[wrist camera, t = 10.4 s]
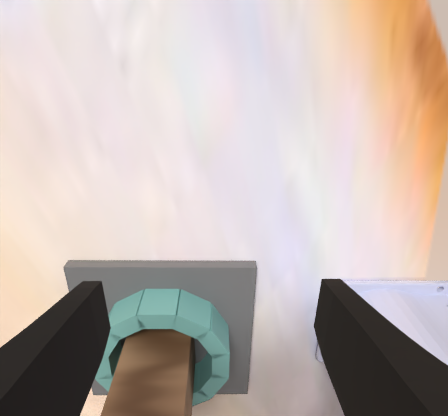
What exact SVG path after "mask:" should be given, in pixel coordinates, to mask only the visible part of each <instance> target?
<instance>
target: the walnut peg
mask: <svg viewBox="0 0 448 416" xmlns="http://www.w3.org/2000/svg"><path fill="white" fill-rule="evenodd" d="M195 359H196V358H195V342H194V338H193V337H191V336H188V335H186V334H183V333H181V332H178V331H176V330H174V329H142V330H140V331H138V332H135V333H133V334H131V335H129V336H127V337H126V340H125V343H124V346H123V349H122V352H121V355H120V358H119V361H118V364H117V367H116V370H115V373H114V376H113V379H112V383H111V386H110V389H109V392H108V395H107V398H106V401H105V404H104V407H103V410H102V413H101V416H191V415H192V401H193V387H194V373H195Z"/></svg>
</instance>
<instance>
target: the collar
mask: <svg viewBox="0 0 448 416" xmlns="http://www.w3.org/2000/svg"><path fill="white" fill-rule="evenodd" d="M63 268H64V272H65V276H66V280H67V285H68V289H69V292H70V291H71V290H72V289H74V288H75V287H76V286H77V285H78V284H80V283H81V282H82V281H102V285H103V290H104V295H105V300H106V306H107V311H108V316H109V321H110V327H111V329H110V333H109V337H108V341H107V345H106V348H105V352H104V356H103V359H102V362H101V364H100V367H99V369H98V372H97V374H96V377H95V379H94V382H93V384H92V391H93V395H108V392H109V389H110V386H111V383H112V379H113V376H114V373H115V370H116V367H117V364H118V361H119V358H120V355H121V352H122V349H123V346H124V343H125V340H126V337H127V336H129V335H131V334H133V333H135V332H138V331H140V330H142V329H174V330H176V331H178V332H181V333H183V334H186V335H188V336H191V337H193V338H194V342H195V358H196V359H195V373H194V387H193V401H192V406H194V405H197V404H199V403H202V402H205V401H207V400H210V398H212V397H213V396H214V395H215V394H247V392H248V378H249V365H250V351H251V338H252V324H253V311H254V297H255V284H256V271H257V267H256V261H86V260H68V262H67V263H66V264H65V266H64V267H63Z"/></svg>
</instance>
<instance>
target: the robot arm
mask: <svg viewBox="0 0 448 416" xmlns="http://www.w3.org/2000/svg"><path fill="white" fill-rule="evenodd" d="M438 287H439V288H438ZM314 328H315V332H316V336H317V340H318V347H317V352H316V357H317V360H318V361H319V362H324V364H325V366H326V369H327V371H328V374H329V377H330V379H331V382H332V384H333V387H334V389H335V392H336V395H337V397H338V400H339V402H340V405H341V407H342V410H343V412H344V415H345V416H448V281H342V280H341V279H322V281H321V287H320V293H319V299H318V305H317V311H316V317H315V323H314ZM110 329H111V327H110V321H109V316H108V311H107V306H106V300H105V295H104V290H103V285H102V281H82V282H81V283H80V284H78V285H77V286H76V287H75V288H74V289H72V290H71V291H70V292H69V293H68V294H66V295H65V296H64V297H63V298H62V299H61V300H59V301H58V302H57V303H56V304H55V305H53V306H52V307H51V308H50V309H49V310H47V311H46V312H45V313H44V314H43V315H41V316H40V317H39V318H38V319H36V320H35V321H34V322H33V323H32V324H30V325H29V326H28V327H27V328H25V329H24V330H23V331H21V332H20V333H19V334H18V335H16V336H15V337H14V338H12V339H11V340H10V341H8V342H7V343H6V344H4V345H3V346H2V347H1V348H0V416H80V413H81V411H82V409H83V406H84V404H85V401H86V399H87V396H88V394H89V391H90V389H91V387H92V384H93V382H94V379H95V377H96V374H97V372H98V369H99V367H100V364H101V362H102V359H103V356H104V352H105V348H106V345H107V341H108V337H109V333H110Z"/></svg>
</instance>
